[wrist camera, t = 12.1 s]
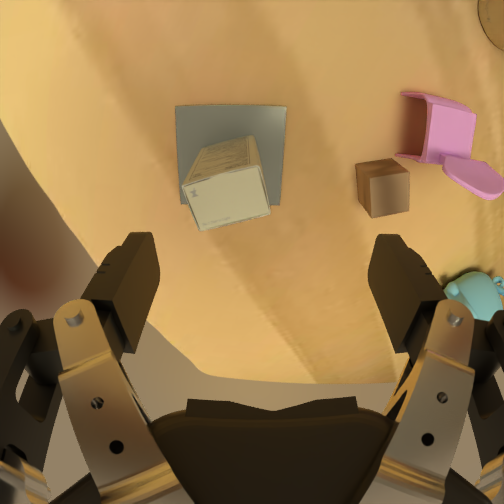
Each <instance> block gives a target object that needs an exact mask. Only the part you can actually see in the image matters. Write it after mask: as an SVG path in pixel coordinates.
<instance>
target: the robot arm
mask: <svg viewBox="0 0 504 504" xmlns="http://www.w3.org/2000/svg"><path fill="white" fill-rule="evenodd" d="M478 11H479V17H480V21H481V24H482V26H483V29H484V31H485V33H486V34H487V36H488V37H489V39H490V40H491V41H492V43H493V44H494V45H496V46H497V47H498V48H499V49H501V50H504V0H479V4H478ZM159 282H160V267H159V262H158V258H157V253H156V248H155V243H154V238H153V235H152V233H151V232H131V233H129V235H128V236H127V238H126V239H125V241H124V243H123V244H122V246H117V247H116V248H114V249H113V250H112V251H111V252H109V253H108V254H107V255H106V257H105V258H104V260H103V262H102V263H101V265H100V266H99V268H98V270H97V273H96V274H94V276H93V278H92V279H91V281H90V283H89V284H88V286H87V288H86V289H85V291H84V293H83V295H82V296H81V298H80V299H76V300H73V301H70V302H68V303H66V304H64V305H63V306H62V307H61V308H59V310H58V311H57V312H56V314H55V316H54V318H52V319H46V320H40V321H36V320H35V319H34V317H33V315H32V314H31V312H29V310H26V309H19V310H16V311H14V312H12V313H10V314H9V315H8V316H7V317H6V318H5V319H4V320H3V322H2V323H1V325H0V504H504V400H503V398H502V395H501V392H500V390H499V387H498V384H497V382H496V379H495V377H494V374H495V372H496V371H497V370H498V369H499V368H500V366H501V367H502V370H503V372H504V310H498V311H496V312H495V313H494V315H493V316H492V318H491V320H490V321H485V320H480V319H475V318H474V317H473V315H472V313H471V311H470V310H469V309H468V308H467V307H466V306H465V305H464V304H462V303H460V302H458V301H456V300H452V299H448V298H447V296H446V294H445V293H444V291H443V289H442V288H441V286H440V285H439V283H438V282H437V280H436V278H435V277H434V275H432V272H431V271H430V269H429V268H428V267H427V265H426V263H425V262H424V260H423V259H422V257H421V256H420V255H419V254H417V253H416V252H415V251H414V250H412V249H411V248H408V247H407V245H406V244H405V242H404V241H403V240H402V238H401V237H400V235H398V234H379V235H378V236H377V238H376V241H375V245H374V249H373V253H372V257H371V261H370V265H369V269H368V283H369V286H370V289H371V291H372V294H373V296H374V298H375V301H376V303H377V306H378V308H379V311H380V313H381V316H382V319H383V321H384V324H385V326H386V329H387V332H388V334H389V337H390V340H391V342H392V345H393V348H394V351H395V354H396V353H404V352H408V354H409V358H408V360H407V362H406V364H405V366H404V368H403V371H402V373H401V375H400V378H399V380H398V382H397V385H396V387H395V389H394V391H393V394H392V396H391V398H390V400H389V402H388V404H387V406H386V407H385V409H384V411H383V412H382V414H380V413H378V412H375V411H372V410H369V409H365V408H360V407H358V406H357V401H356V397H355V396H353V397H343V398H334V399H321V400H314V401H310V402H307V403H304V404H300V405H297V406H293V407H289V408H285V409H282V410H277V411H269V410H264V409H259V408H255V407H251V406H246V405H242V404H238V403H234V402H230V401H213V400H198V399H188V401H187V407H186V410H181V411H177V412H173V413H170V414H167V415H164V416H162V417H160V418H158V419H156V420H154V421H152V420H151V418H150V416H149V415H148V413H147V412H146V410H145V408H144V406H143V404H142V403H141V401H140V399H139V397H138V395H137V393H136V391H135V389H134V387H133V385H132V383H131V381H130V379H129V377H128V375H127V373H126V371H125V369H124V367H123V365H122V363H121V361H120V360H121V356H122V354H123V352H125V353H133V354H135V352H136V349H137V345H138V342H139V339H140V336H141V333H142V330H143V327H144V325H145V321H146V319H147V316H148V313H149V310H150V307H151V305H152V302H153V299H154V296H155V293H156V291H157V288H158V285H159ZM24 369H25V370H26V371H27V372H28V373H29V377H28V379H27V382H26V384H25V387H24V389H23V392H22V395H21V397H20V400H19V403H18V402H17V400H16V394H15V392H16V387H17V384H18V382H19V380H20V377H21V375H22V373H23V370H24ZM62 396H63V398H64V401H65V405H66V408H67V411H68V414H69V418H70V421H71V424H72V426H73V430H74V432H75V435H76V438H77V441H78V443H79V446H80V449H81V451H82V453H83V456H84V459H85V461H86V464H87V465H88V468H89V470H90V472H89V473H88V474H87V475H85V476H84V477H83V478H82V479H80V480H79V481H78V482H76V483H75V484H74V485H73V486H71V487H70V488H69V489H67V490H66V491H65V492H63V493H62V494H61V495H59V496H58V497H56V498H55V499H54V500H52V501H51V502H50V503H49V502H48V500H49V499H50V497H51V490H50V488H49V487H48V486H47V483H46V479H45V477H44V475H43V474H42V472H43V467H44V463H45V458H46V454H47V450H48V446H49V442H50V438H51V434H52V430H53V426H54V423H55V419H56V416H57V412H58V409H59V405H60V402H61V399H62ZM467 411H468V414H469V417H470V420H471V424H472V428H473V432H474V436H475V439H476V443H477V448H478V452H479V456H480V460H481V465H482V472H481V475H480V479H478V480H477V481H476V483H475V485H474V486H473V485H472V484H471V483H470V482H468V481H467V480H466V479H464V478H463V477H462V476H461V475H459V474H458V473H457V472H455V471H454V470H453V469H452V468H450V466H451V463H452V460H453V458H454V455H455V452H456V449H457V445H458V442H459V439H460V436H461V432H462V429H463V425H464V422H465V418H466V414H467Z"/></svg>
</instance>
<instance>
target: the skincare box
mask: <svg viewBox="0 0 504 504" xmlns="http://www.w3.org/2000/svg"><path fill="white" fill-rule="evenodd" d="M182 189H183V192H184V195H185V198H186V200H187V203H188V206H189V208H190V211H191V213H192V216H193V218H194V221H195V223H196V225H197V228H198V230H199V231H205V230H210V229H214V228H219V227H223V226H227V225H231V224H235V223H239V222H243V221H247V220H251V219H254V218H258V217H262V216H266V215H269V214H271V211H270V206H269V201H268V195H267V190H266V185H265V180H264V175H263V170H262V165H261V161H260V156H259V152H258V148H257V145H256V141H255V137H254V135H249V136H244V137H240V138H236V139H232V140H228V141H224V142H220V143H217V144H213V145H210V146H207V147H204V148H201V150H200V152H199V154H198V156H197V158H196V159H195V161H194V163H193V165H192V167H191V169H190V171H189V173H188V175H187V177H186V179H185V180H184V182H183V184H182Z"/></svg>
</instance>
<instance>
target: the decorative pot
mask: <svg viewBox="0 0 504 504" xmlns="http://www.w3.org/2000/svg"><path fill="white" fill-rule="evenodd" d="M497 283H501V284H500V285H499V286H498V285H497ZM503 286H504V280H503V278H502V277H500V276H496V277H494V278H493V279H492V280H491V278H490V277H489V276H488V275H487V274H485V273H483V272H477V271H472V272H469V273H465V274H463V275H462V276H461V277H459V278H458V279H456V280H455V281H453V282H450V283H448V285H447V287H446V288H445V289H444V290H443V291H444V293H445V294H446V296H447V298H448V299H452V300H456V301H458V302H460V303H462V304H464V305H465V306H466V307H467V308H468V309H469V310H470V311H471V313H472V315H473V317H474V318H475V319H480V320H485V321H490V320H491V318H492V316H493V315H494V313H495V312H496V311H498V310H503V307H502V302H501V298H500V295H499V294H501V295H503V296H504V288H503Z"/></svg>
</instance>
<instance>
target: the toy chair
mask: <svg viewBox="0 0 504 504" xmlns="http://www.w3.org/2000/svg"><path fill="white" fill-rule="evenodd" d="M401 95H403V96H409V97H414V98H419V99H424V100H426V102H427V126H426V135H425V141H424V146H423V152H422V155H421V156H417V155H407V154H395V156H397V157H404V158H410V159H414V160H416V161H417V162H421V163H431V164H439V165H443V166H442V170H443V172H444V173H445V174H446V175H447V176H448V177H450V178H451V179H452V180H454V181H455V182H457V183H458V184H460V185H461V186H463V187H464V188H466V189H467V190H469V191H471V192H472V193H474V194H475V195H477V196H479V197H481V198H483V199H486V200H493V199H496V198H497V197H499V196H500V195H501V194H502V193H503V191H504V178H503V177H502V176H501V175H499V174H498V173H497V172H496V171H495V170H494V169H492V168H491V167H490V166H489V165H488V164H487V163H486V162H482V161H477V160H472V159H470V157H471V148H472V142H473V135H474V130H475V125H476V117H477V114H474V113H472V112H471V110H470V109H469V108H468V107H467V106H465V105H463V104H461V103H459V102H457V101H454V100H450V99H446V98H442V97H438V96H434V95H429V94H425V93H420V92H401Z"/></svg>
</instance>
